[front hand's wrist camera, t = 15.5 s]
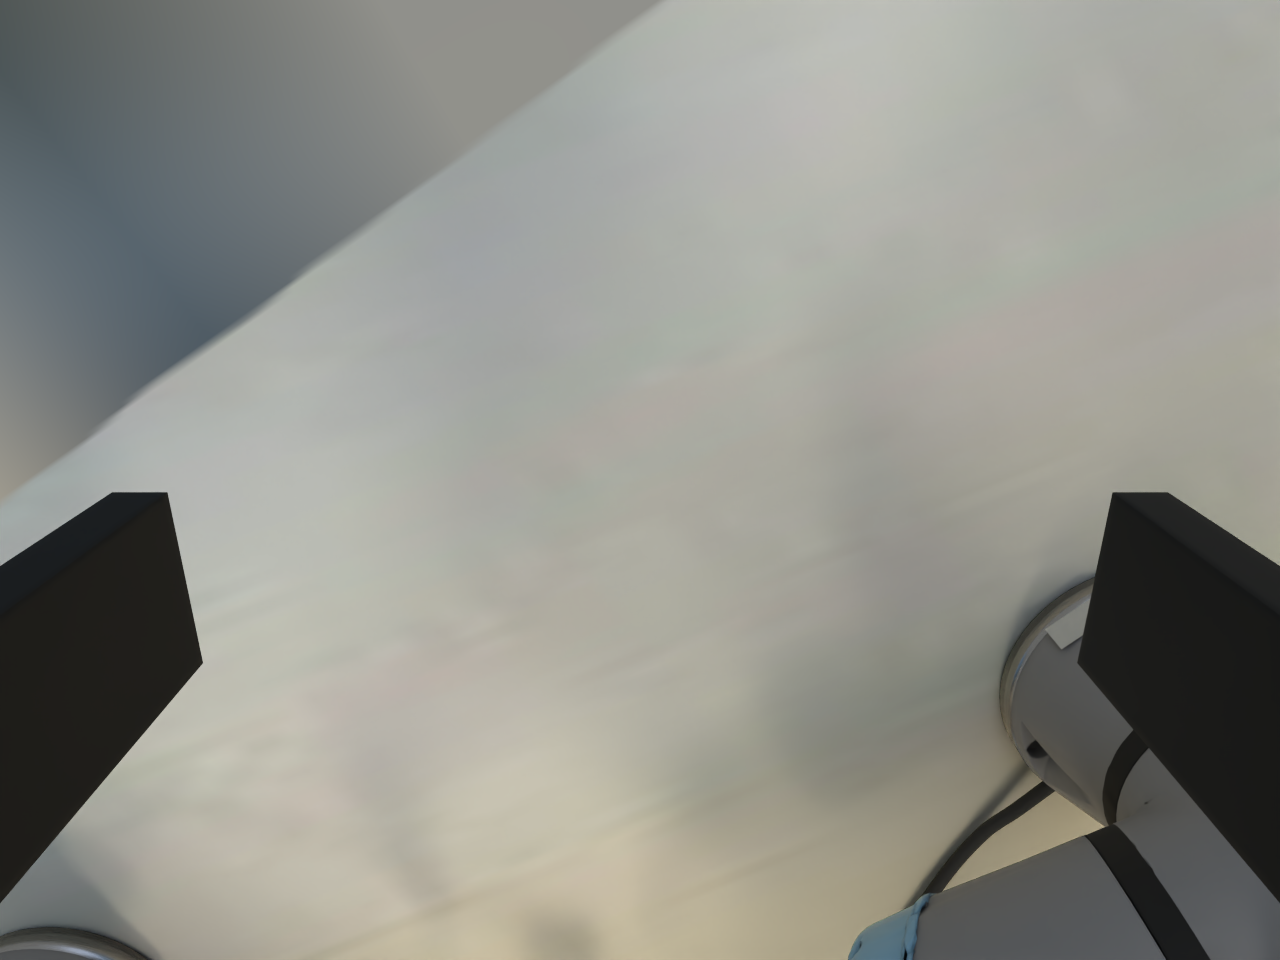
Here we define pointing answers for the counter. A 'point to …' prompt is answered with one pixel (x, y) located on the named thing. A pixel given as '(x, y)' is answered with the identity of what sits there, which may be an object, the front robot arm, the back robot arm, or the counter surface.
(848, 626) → the counter surface
